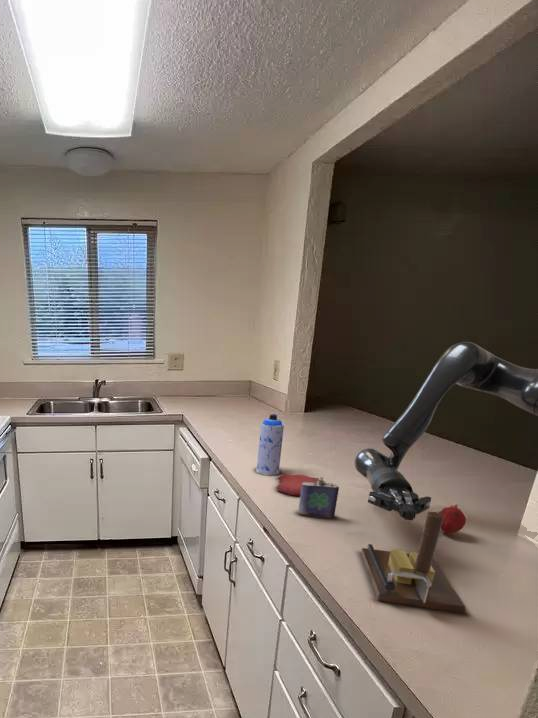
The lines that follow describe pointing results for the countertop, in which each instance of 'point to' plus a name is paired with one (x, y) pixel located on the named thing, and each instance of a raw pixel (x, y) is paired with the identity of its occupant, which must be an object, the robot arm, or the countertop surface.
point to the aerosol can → (270, 446)
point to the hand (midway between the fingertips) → (410, 516)
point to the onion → (452, 519)
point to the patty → (293, 483)
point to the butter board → (409, 591)
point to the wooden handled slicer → (422, 557)
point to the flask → (318, 499)
